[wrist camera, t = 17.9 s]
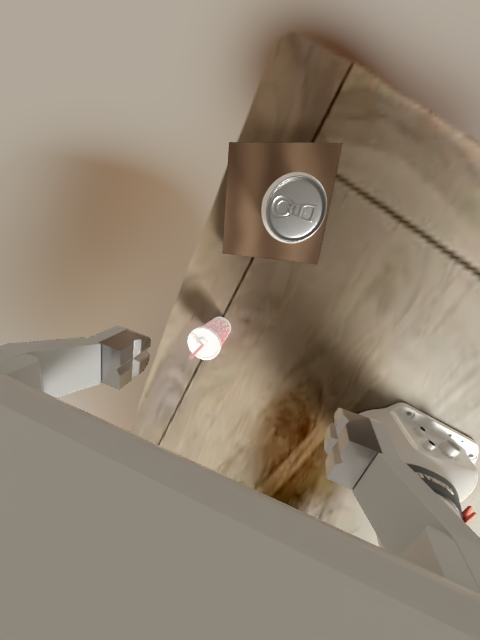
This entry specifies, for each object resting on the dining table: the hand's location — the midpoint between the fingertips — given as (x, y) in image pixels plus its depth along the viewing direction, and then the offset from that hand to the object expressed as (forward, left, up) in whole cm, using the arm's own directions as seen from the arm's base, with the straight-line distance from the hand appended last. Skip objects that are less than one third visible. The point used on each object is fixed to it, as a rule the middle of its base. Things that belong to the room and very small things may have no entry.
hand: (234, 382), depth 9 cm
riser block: (+5, -10, -34) cm, 36 cm away
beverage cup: (+10, +14, -34) cm, 38 cm away
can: (+3, -10, -28) cm, 30 cm away
